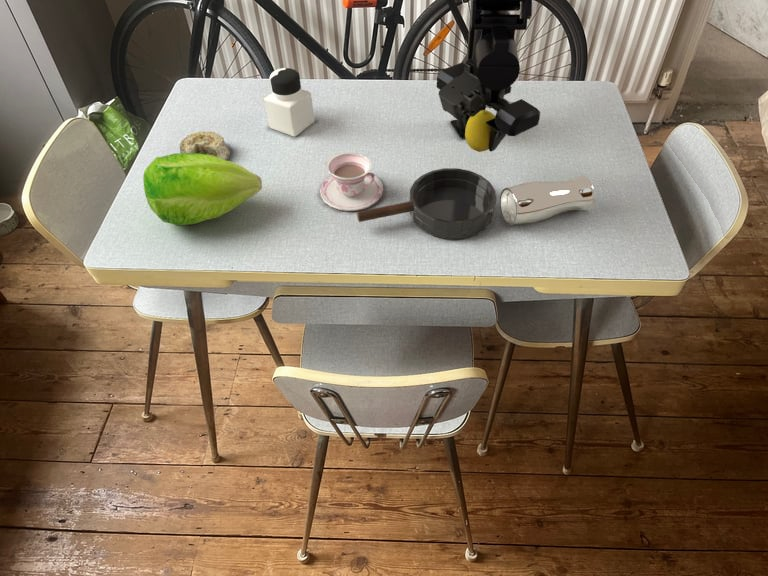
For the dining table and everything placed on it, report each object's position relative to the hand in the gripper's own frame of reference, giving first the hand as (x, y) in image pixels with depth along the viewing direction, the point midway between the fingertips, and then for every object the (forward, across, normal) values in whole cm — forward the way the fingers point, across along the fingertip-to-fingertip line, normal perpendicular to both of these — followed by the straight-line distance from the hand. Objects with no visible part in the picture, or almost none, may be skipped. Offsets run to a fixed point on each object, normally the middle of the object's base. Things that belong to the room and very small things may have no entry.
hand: (480, 142), depth 98 cm
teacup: (+12, -15, -18) cm, 26 cm away
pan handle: (+9, -3, -18) cm, 20 cm away
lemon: (+2, 0, 0) cm, 2 cm away
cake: (+12, -42, -36) cm, 57 cm away
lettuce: (+12, -25, -42) cm, 50 cm away
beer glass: (+9, +14, +14) cm, 22 cm away
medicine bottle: (+12, -42, -16) cm, 46 cm away
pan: (+12, +1, -6) cm, 13 cm away
